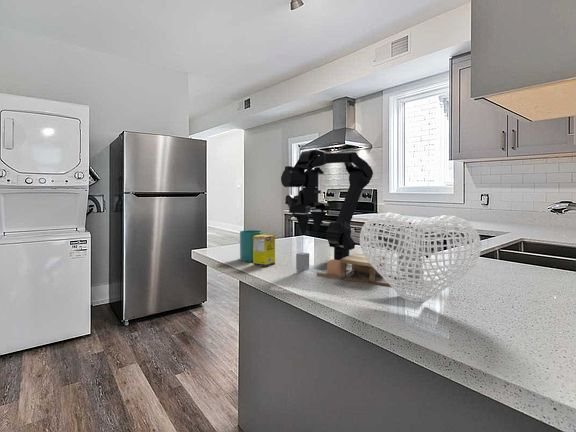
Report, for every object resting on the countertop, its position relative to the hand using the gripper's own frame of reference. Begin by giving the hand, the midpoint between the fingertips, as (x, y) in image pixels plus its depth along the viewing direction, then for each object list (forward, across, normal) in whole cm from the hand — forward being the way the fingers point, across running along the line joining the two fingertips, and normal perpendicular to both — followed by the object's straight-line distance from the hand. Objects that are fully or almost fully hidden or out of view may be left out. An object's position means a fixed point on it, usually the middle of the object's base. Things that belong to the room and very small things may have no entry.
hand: (309, 232), depth 119 cm
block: (+12, +5, +12) cm, 18 cm away
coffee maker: (+13, -8, +33) cm, 36 cm away
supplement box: (+13, +2, -18) cm, 22 cm away
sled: (+13, +5, +8) cm, 16 cm away
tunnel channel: (+13, +5, +21) cm, 25 cm away
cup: (+13, -4, -27) cm, 30 cm away
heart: (+13, +18, +39) cm, 44 cm away
